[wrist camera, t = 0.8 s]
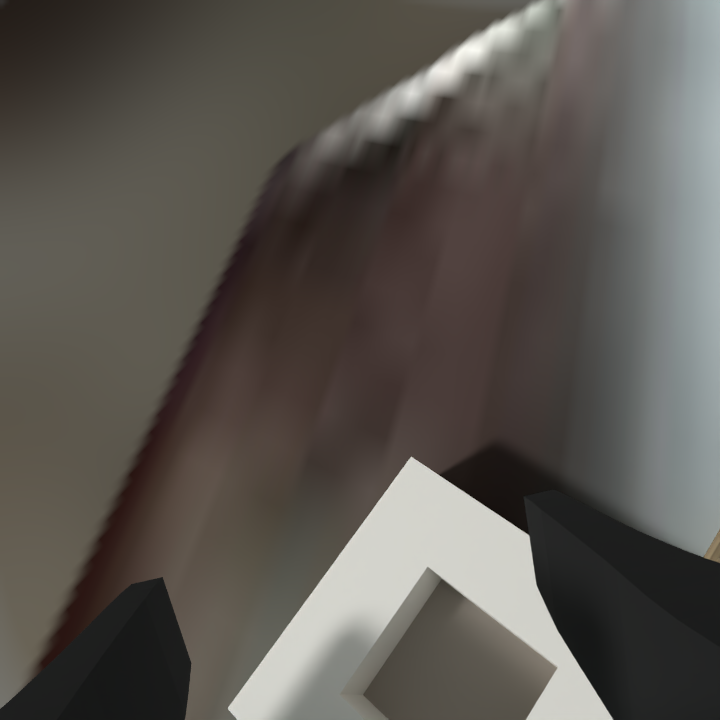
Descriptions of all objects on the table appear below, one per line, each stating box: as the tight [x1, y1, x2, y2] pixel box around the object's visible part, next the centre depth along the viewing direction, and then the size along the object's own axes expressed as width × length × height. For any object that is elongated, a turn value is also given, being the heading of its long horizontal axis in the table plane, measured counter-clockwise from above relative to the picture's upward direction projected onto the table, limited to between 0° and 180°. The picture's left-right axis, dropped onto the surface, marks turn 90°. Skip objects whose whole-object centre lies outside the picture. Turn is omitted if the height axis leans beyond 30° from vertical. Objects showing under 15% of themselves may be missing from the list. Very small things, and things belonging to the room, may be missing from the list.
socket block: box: [228, 457, 613, 720], centre depth 24 cm, size 12×12×4 cm
